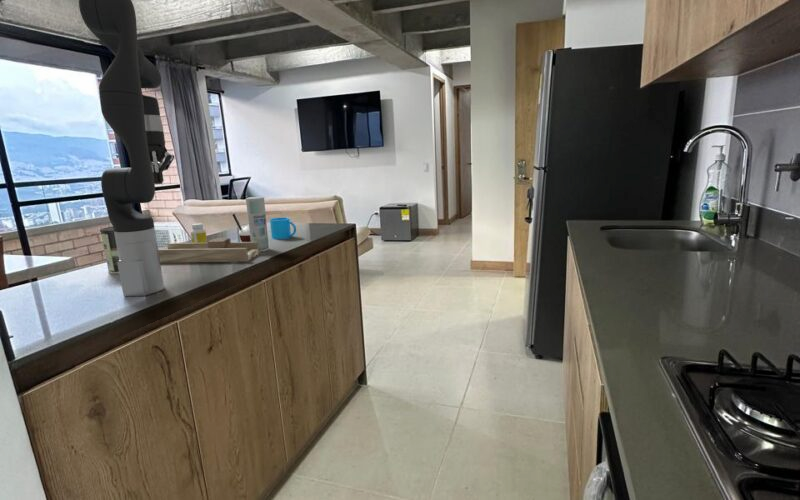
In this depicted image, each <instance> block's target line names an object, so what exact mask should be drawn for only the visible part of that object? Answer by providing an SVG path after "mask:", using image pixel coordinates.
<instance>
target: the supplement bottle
mask: <svg viewBox="0 0 800 500" xmlns="http://www.w3.org/2000/svg"><path fill="white" fill-rule="evenodd" d="M190 237H191V243H208V238H207V232H206V229H205V228H204V224H203V223H192V224H191V230H190Z"/></svg>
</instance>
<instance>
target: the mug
mask: <svg viewBox="0 0 800 500" xmlns="http://www.w3.org/2000/svg"><path fill="white" fill-rule="evenodd" d="M269 224H270V234H271V239H272V240H287V239H289V238H291V237H293V236H294V235H295V234H296V232H297V226H296V225H295V223H294V222H292V221H291V220H290V218H289V217H274V218H270V219H269ZM291 226H292V228H293V232H291Z"/></svg>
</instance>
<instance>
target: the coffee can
mask: <svg viewBox="0 0 800 500" xmlns="http://www.w3.org/2000/svg"><path fill="white" fill-rule="evenodd" d="M99 232H100V233H101V239H102V244H103V250H104V254H105V260H106V264H107V265H106V266H107V269H108V270H107V271H108V273H109V274H112V275H120V274H119V269H118V264H117V262H118V261H119V256H118V250H117V245H116V239H115V234H114V229H113V226H109V227H108V226H107V227H102V228H101V229H100V230H99Z"/></svg>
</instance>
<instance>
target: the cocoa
mask: <svg viewBox="0 0 800 500" xmlns="http://www.w3.org/2000/svg"><path fill="white" fill-rule="evenodd" d="M232 216H233V218H234V221H235V223H236V226H237V227H238V229H239V231H238V234H239V235H238V237H239V239H240V242H251V238H250V230H249V226H245V227H243V228H242V226H241V224H240V222H239V220H238V218H237V216H236V214H235V213H232Z"/></svg>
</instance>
